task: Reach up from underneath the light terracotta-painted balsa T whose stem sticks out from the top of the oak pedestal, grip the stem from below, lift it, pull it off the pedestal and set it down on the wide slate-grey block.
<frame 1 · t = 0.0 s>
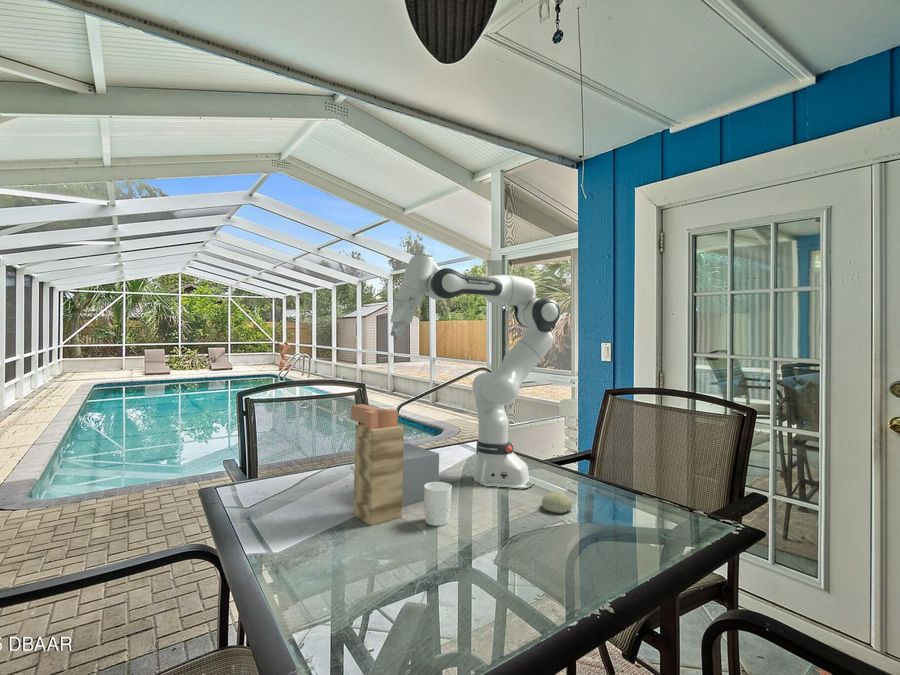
hand: (395, 335, 163), 52 cm above the table, tool tilted 20°, fingers open, 8 cm apart
low block: (403, 493, 157), on the table
pedestal: (377, 516, 137), on the table
white cup: (437, 522, 134), on the table
tee: (370, 423, 141), point 26 cm above the table, touching pedestal
sea urchin shell: (556, 510, 146), on the table
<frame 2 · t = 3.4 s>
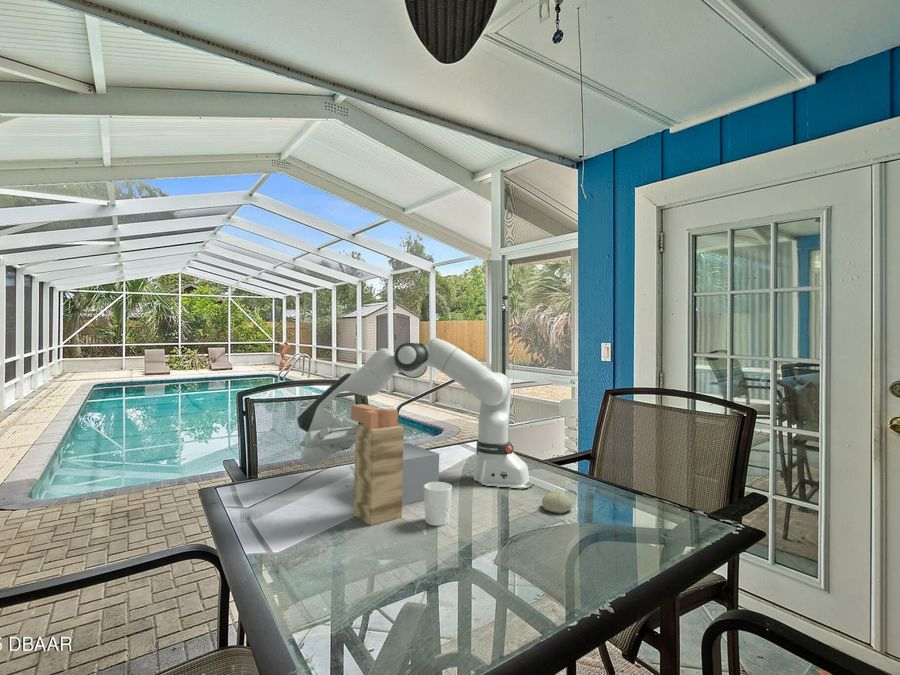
hand: (343, 428, 154), 22 cm above the table, tool pointing upward, fingers open, 8 cm apart
nothing on the table moved.
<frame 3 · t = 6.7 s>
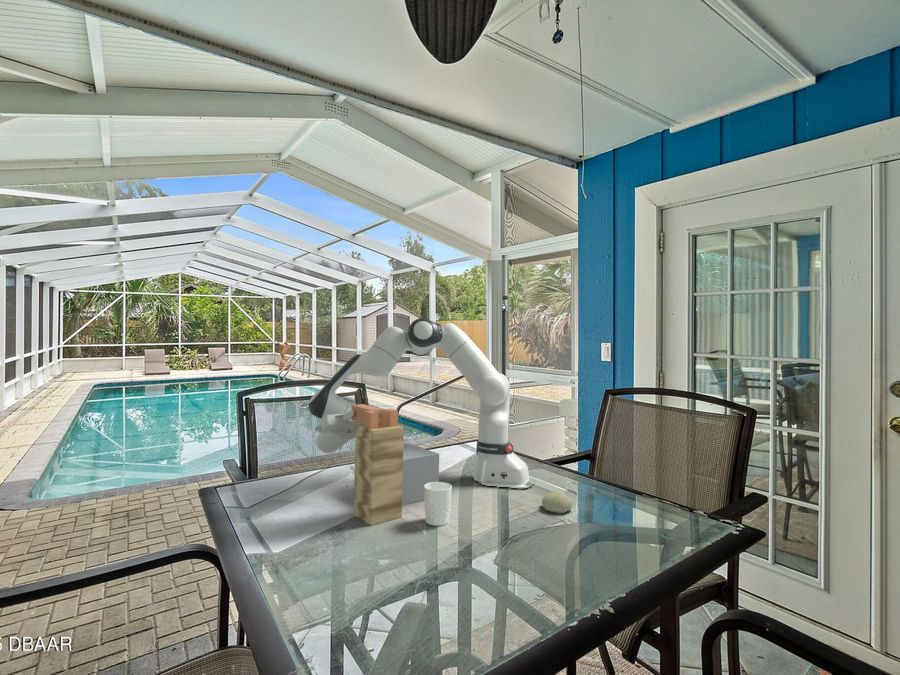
hand: (362, 411, 144), 29 cm above the table, tool pointing upward, fingers closed on tee, 4 cm apart
tee: (370, 423, 141), point 26 cm above the table, touching gripper, pedestal
everything else where it was.
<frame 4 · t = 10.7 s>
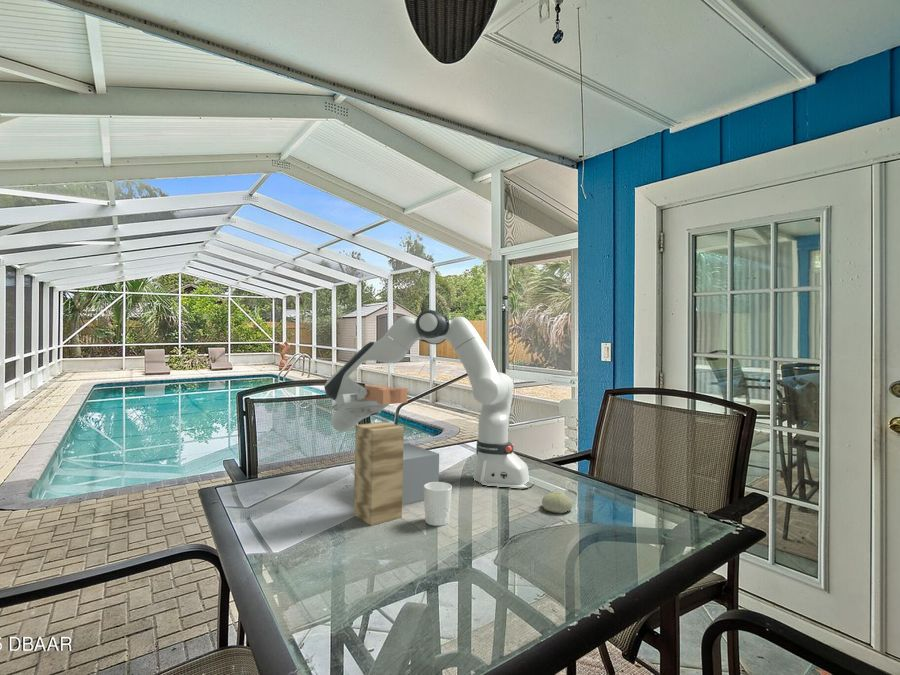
hand: (374, 391, 159), 33 cm above the table, tool pointing upward, fingers closed on tee, 4 cm apart
tee: (381, 400, 156), point 31 cm above the table, touching gripper
everything else where it was.
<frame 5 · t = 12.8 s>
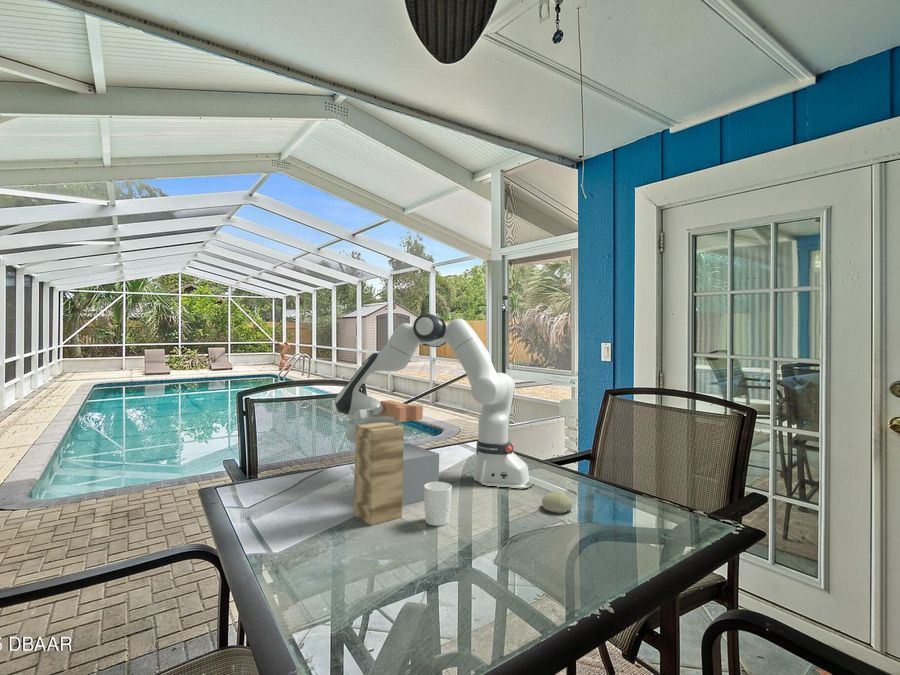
hand: (390, 406, 164), 27 cm above the table, tool pointing upward, fingers closed on tee, 4 cm apart
tee: (397, 416, 160), point 25 cm above the table, touching gripper
everything else where it was.
when the fingers open (18 cm above the table, at t = 14.7 s): tee drops 2 cm, resting on low block.
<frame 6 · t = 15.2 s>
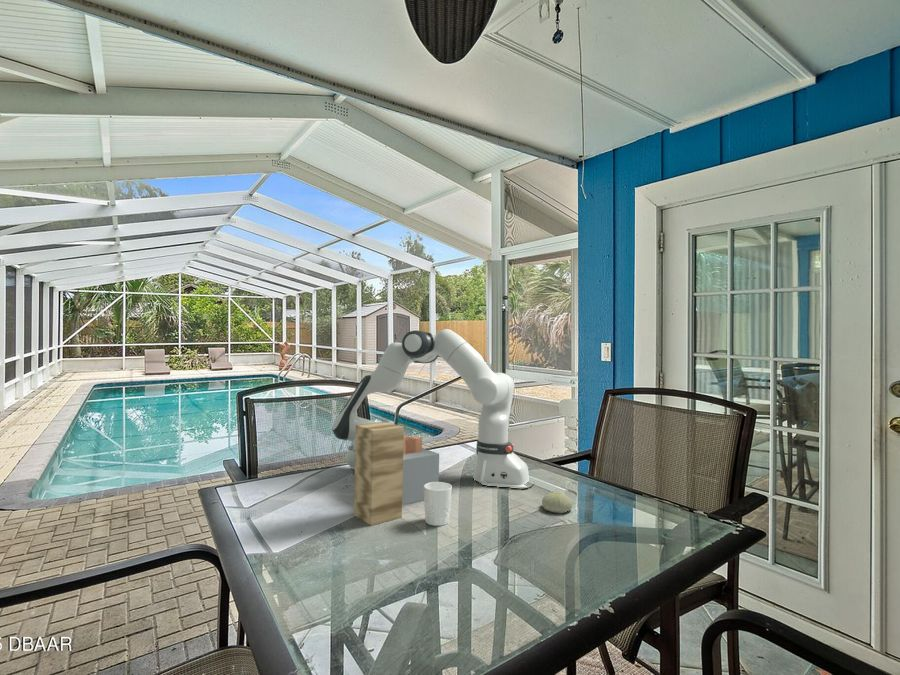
hand: (389, 432, 164), 18 cm above the table, tool pointing upward, fingers open, 8 cm apart
tee: (397, 448, 160), point 14 cm above the table, touching low block
everything else where it was.
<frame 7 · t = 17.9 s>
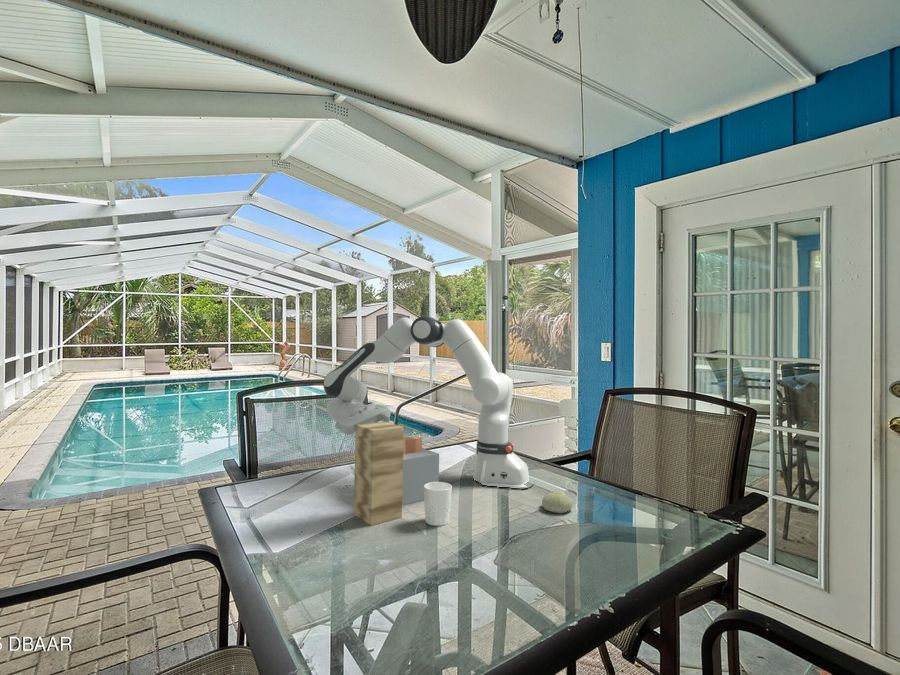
hand: (377, 424, 171), 20 cm above the table, tool horizontal, fingers open, 8 cm apart
nothing on the table moved.
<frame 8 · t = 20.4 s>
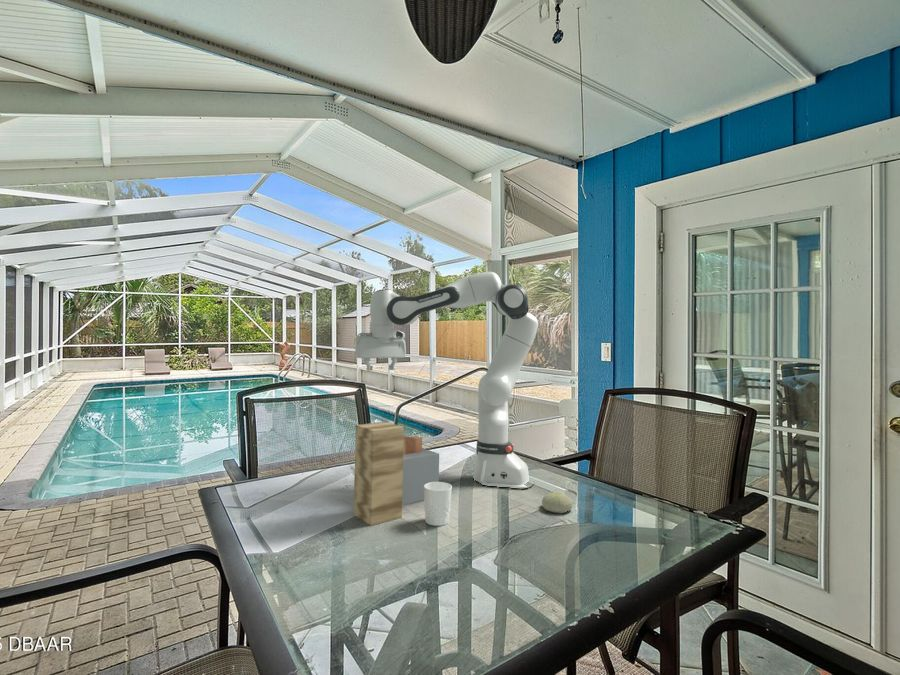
hand: (380, 370, 177), 39 cm above the table, tool pointing down, fingers open, 8 cm apart
nothing on the table moved.
at the end: tee inside the target area on the low block (0.2 cm from its centre), point 14.0 cm above the low block's base; tee touching low block; the gripper is holding nothing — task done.
